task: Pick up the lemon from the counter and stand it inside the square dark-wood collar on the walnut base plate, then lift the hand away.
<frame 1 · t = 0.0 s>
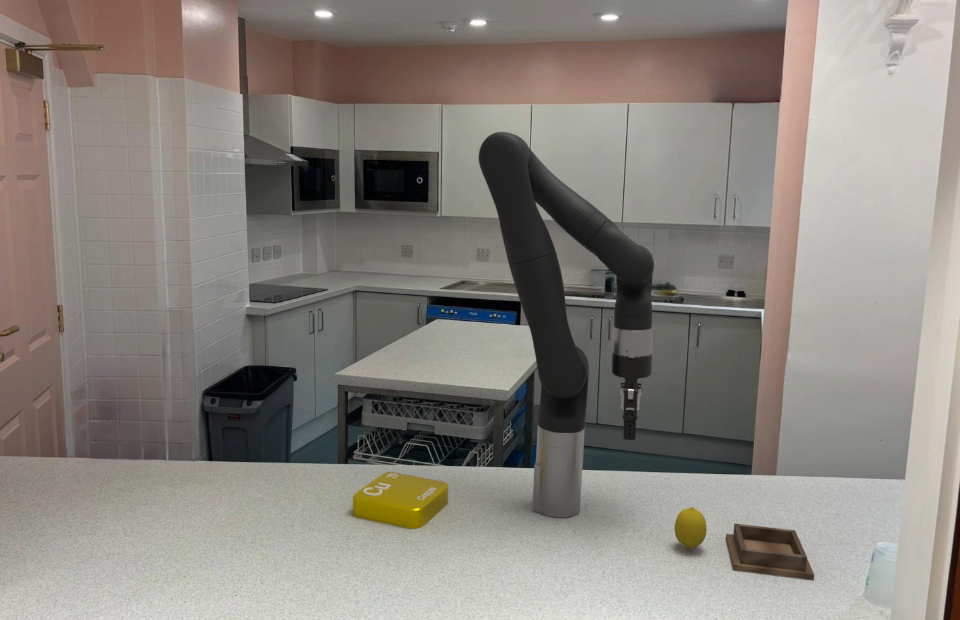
hand: (629, 432, 149), 17 cm above the countertop, tool pointing down, fingers open, 8 cm apart
lemon stand: (767, 558, 137), on the countertop
element tile: (401, 510, 153), on the countertop
lemon: (688, 550, 139), on the countertop
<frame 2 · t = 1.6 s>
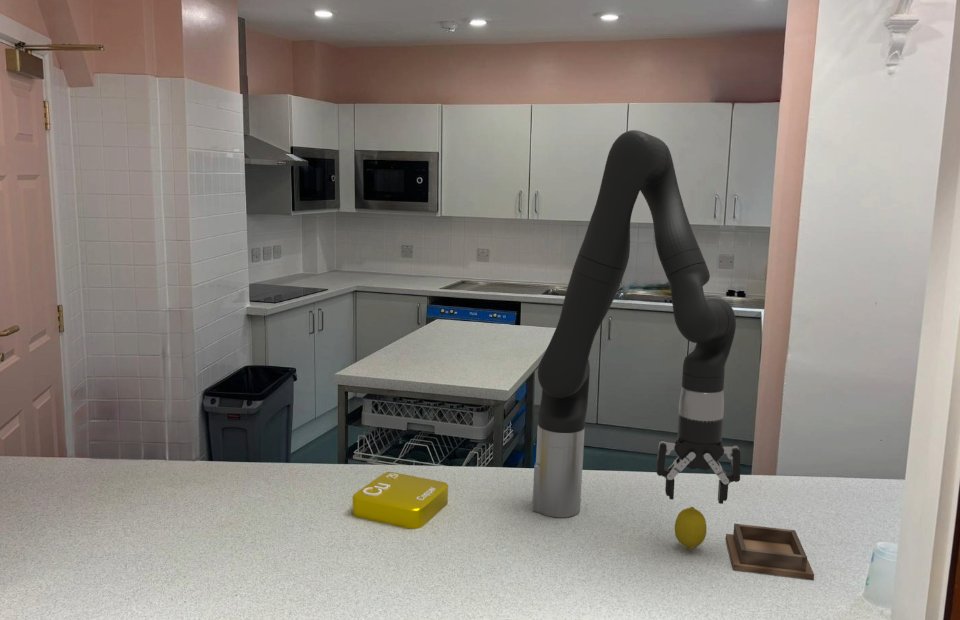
hand: (695, 499, 138), 9 cm above the countertop, tool pointing down, fingers open, 8 cm apart
nothing on the countertop moved.
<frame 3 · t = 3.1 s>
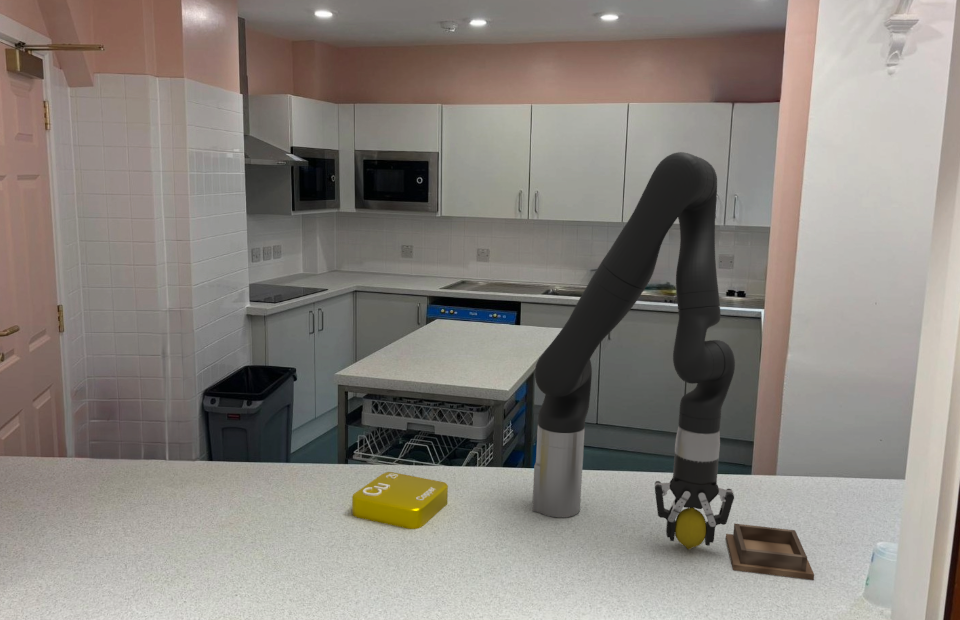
hand: (689, 541, 139), 2 cm above the countertop, tool pointing down, fingers closed on lemon, 5 cm apart
lemon: (688, 549, 139), on the countertop, touching gripper
everything else where it was.
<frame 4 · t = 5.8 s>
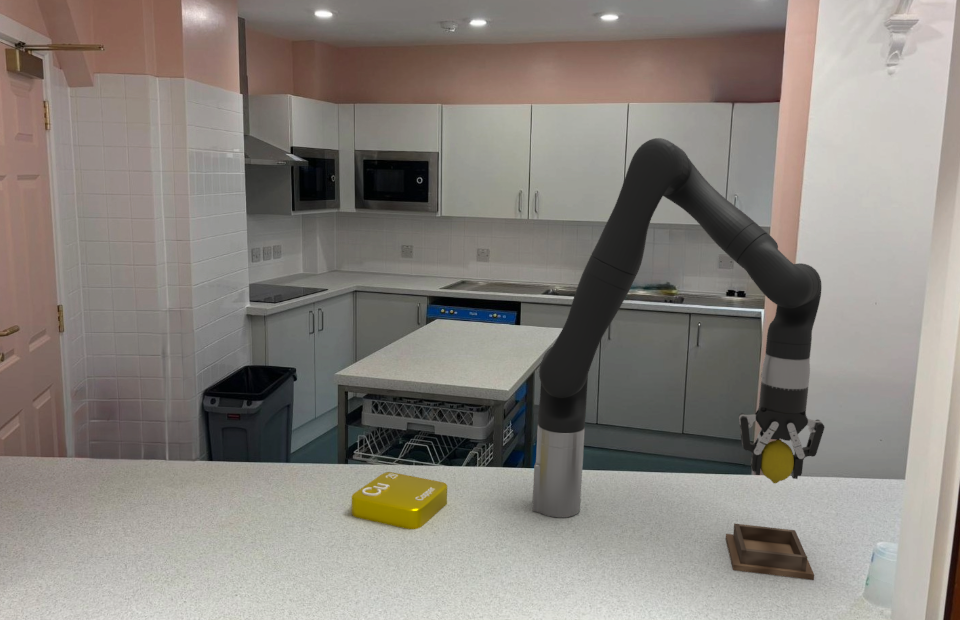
hand: (775, 475, 134), 16 cm above the countertop, tool pointing down, fingers closed on lemon, 5 cm apart
lemon: (774, 484, 134), point 14 cm above the countertop, touching gripper
everything else where it was.
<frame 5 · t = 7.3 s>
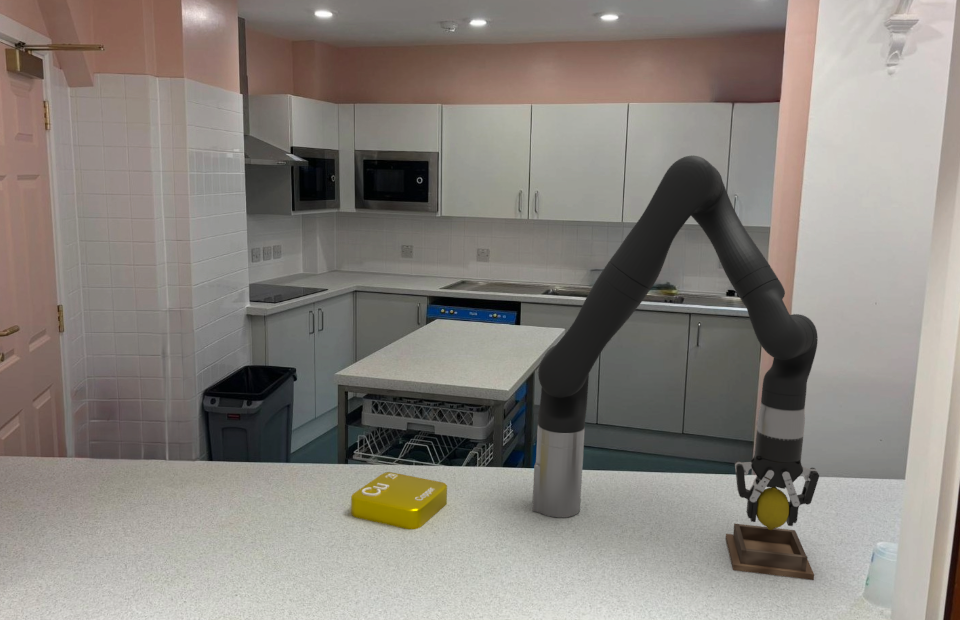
hand: (771, 521, 136), 7 cm above the countertop, tool pointing down, fingers closed on lemon, 5 cm apart
lemon: (770, 530, 136), point 5 cm above the countertop, touching gripper
everything else where it was.
when the fingers open (5 cm above the countertop, at t = 8.6 s): lemon drops 2 cm, resting on lemon stand.
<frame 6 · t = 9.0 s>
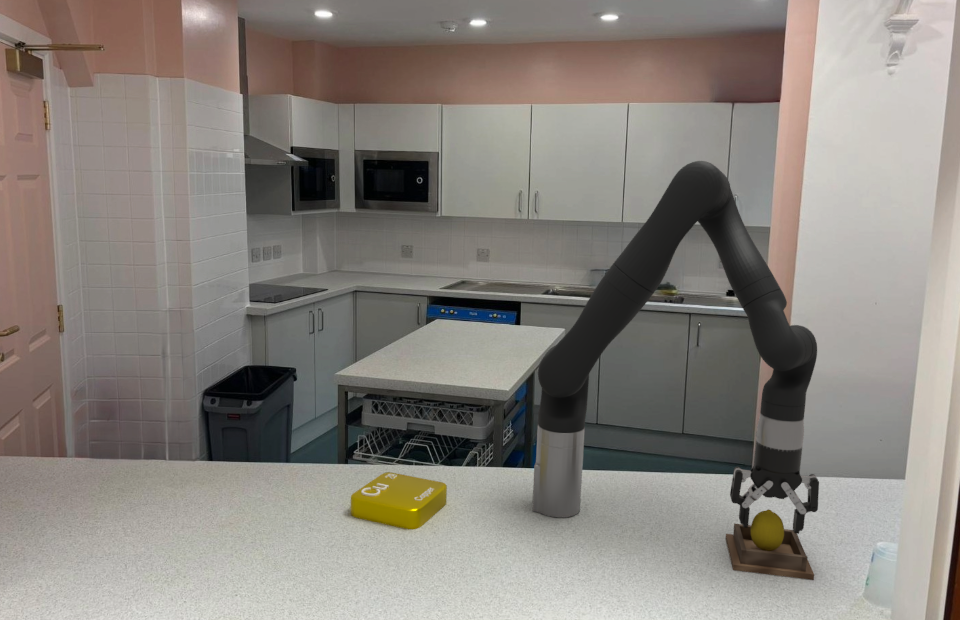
hand: (770, 528, 136), 6 cm above the countertop, tool pointing down, fingers open, 8 cm apart
lemon: (765, 553, 137), point 1 cm above the countertop, touching lemon stand
everything else where it was.
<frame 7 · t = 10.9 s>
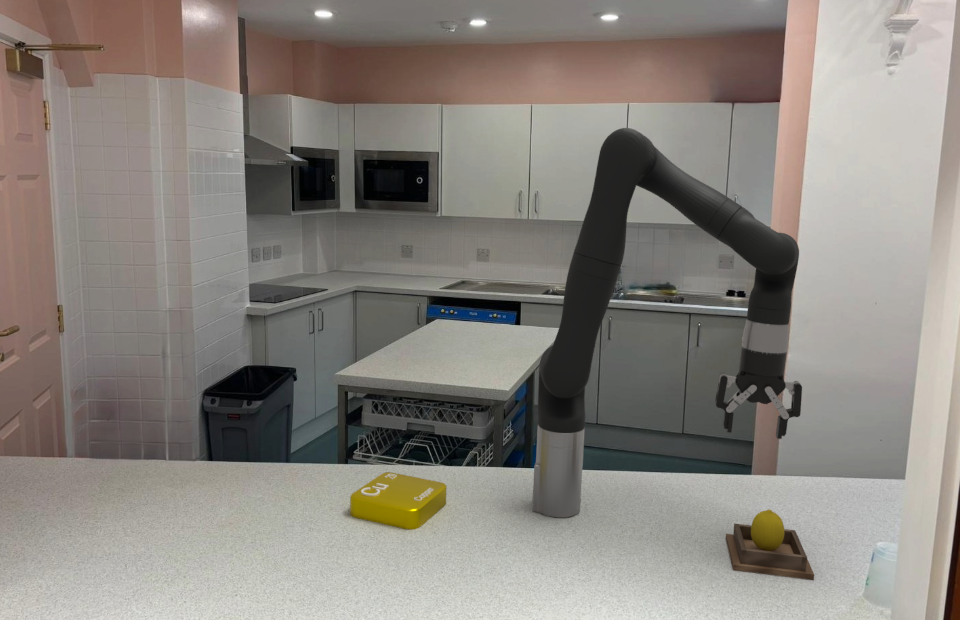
hand: (753, 434, 139), 21 cm above the countertop, tool pointing down, fingers open, 8 cm apart
nothing on the countertop moved.
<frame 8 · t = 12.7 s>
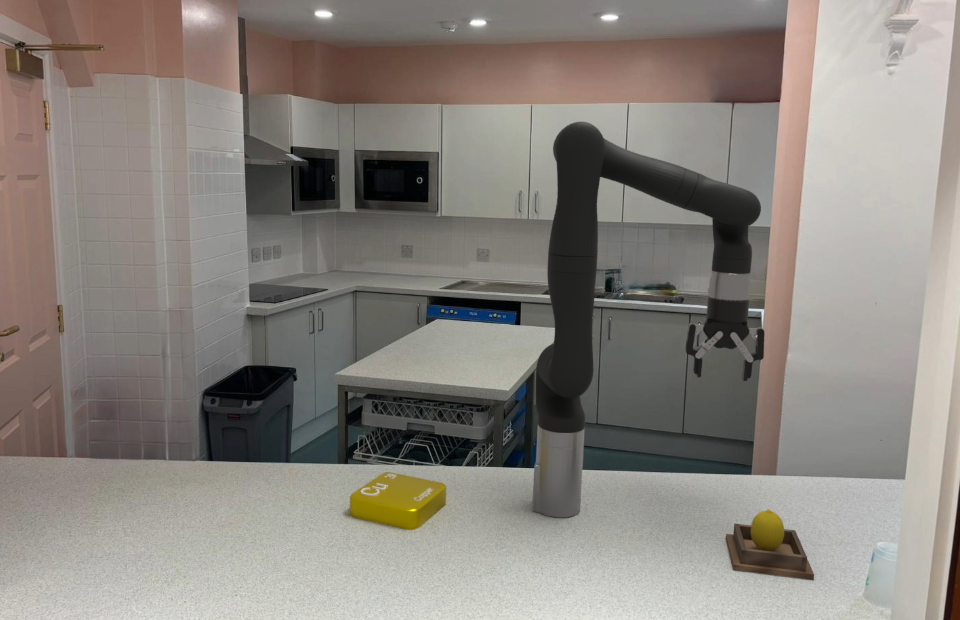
hand: (721, 378, 149), 28 cm above the countertop, tool pointing down, fingers open, 8 cm apart
nothing on the countertop moved.
at the end: lemon 0.4 cm off-centre on the lemon stand, point 0.8 cm above the lemon stand's base; the gripper is holding nothing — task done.
